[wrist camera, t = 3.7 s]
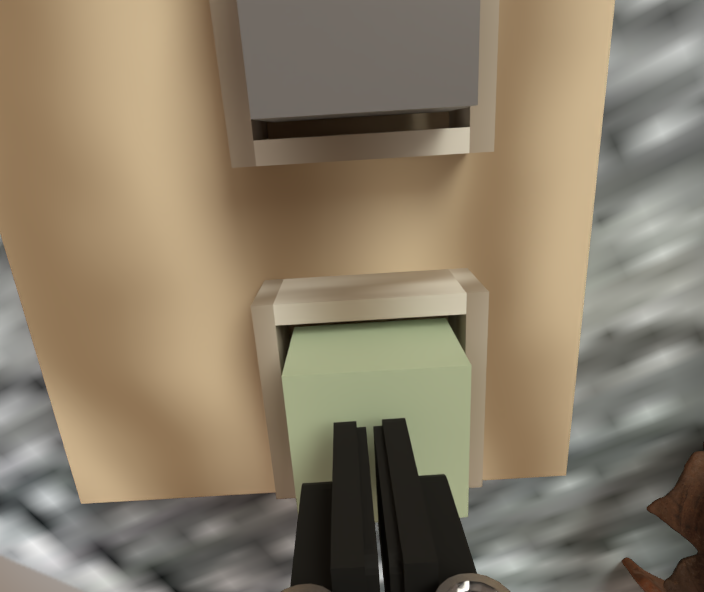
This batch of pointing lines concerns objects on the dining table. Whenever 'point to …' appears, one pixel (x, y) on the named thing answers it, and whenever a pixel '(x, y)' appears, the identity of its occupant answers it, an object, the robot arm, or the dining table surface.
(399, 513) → the robot arm
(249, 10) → the charcoal button
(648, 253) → the dining table surface
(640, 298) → the dining table surface
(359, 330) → the green button
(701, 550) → the brown curved piece
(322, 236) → the control panel
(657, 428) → the dining table surface
